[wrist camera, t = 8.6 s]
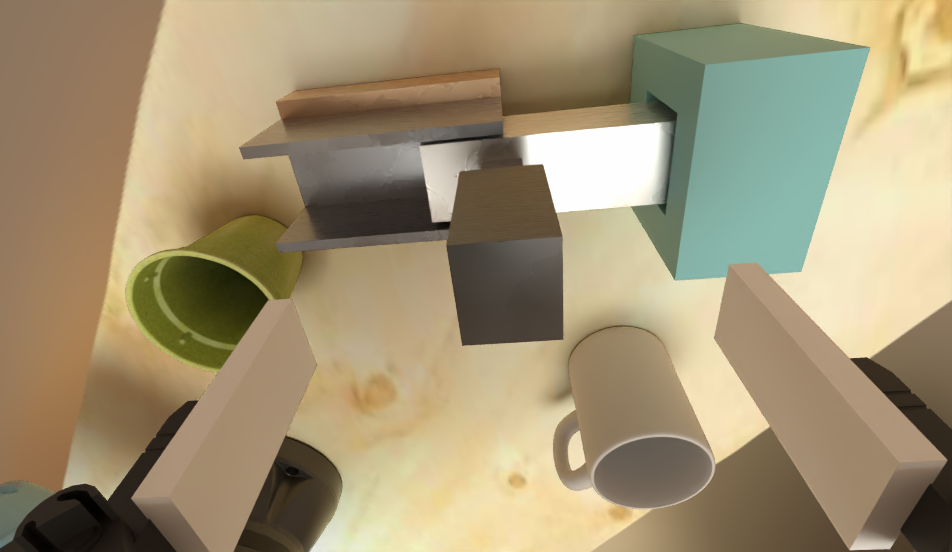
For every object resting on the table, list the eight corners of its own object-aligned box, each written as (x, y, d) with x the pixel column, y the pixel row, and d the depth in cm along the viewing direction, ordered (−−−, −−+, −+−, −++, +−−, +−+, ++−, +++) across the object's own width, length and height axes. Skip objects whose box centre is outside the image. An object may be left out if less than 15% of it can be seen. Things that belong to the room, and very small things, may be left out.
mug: (627, 307, 38) (669, 413, 29) (686, 363, 41) (742, 476, 32) (518, 382, 43) (525, 494, 34) (579, 427, 46) (600, 541, 37)
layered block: (328, 206, 34) (284, 268, 27) (294, 90, 30) (231, 126, 23) (508, 191, 33) (512, 250, 26) (499, 68, 29) (500, 98, 22)
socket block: (623, 194, 33) (674, 280, 24) (634, 35, 28) (705, 64, 18) (713, 187, 32) (801, 271, 23) (741, 23, 27) (870, 47, 18)
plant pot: (217, 168, 33) (138, 223, 25) (343, 230, 35) (304, 297, 28) (189, 266, 37) (114, 336, 30) (302, 316, 40) (259, 393, 32)
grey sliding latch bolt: (440, 192, 29) (399, 351, 17) (429, 123, 27) (373, 248, 14) (708, 169, 28) (880, 322, 15) (720, 94, 25) (932, 204, 13)
